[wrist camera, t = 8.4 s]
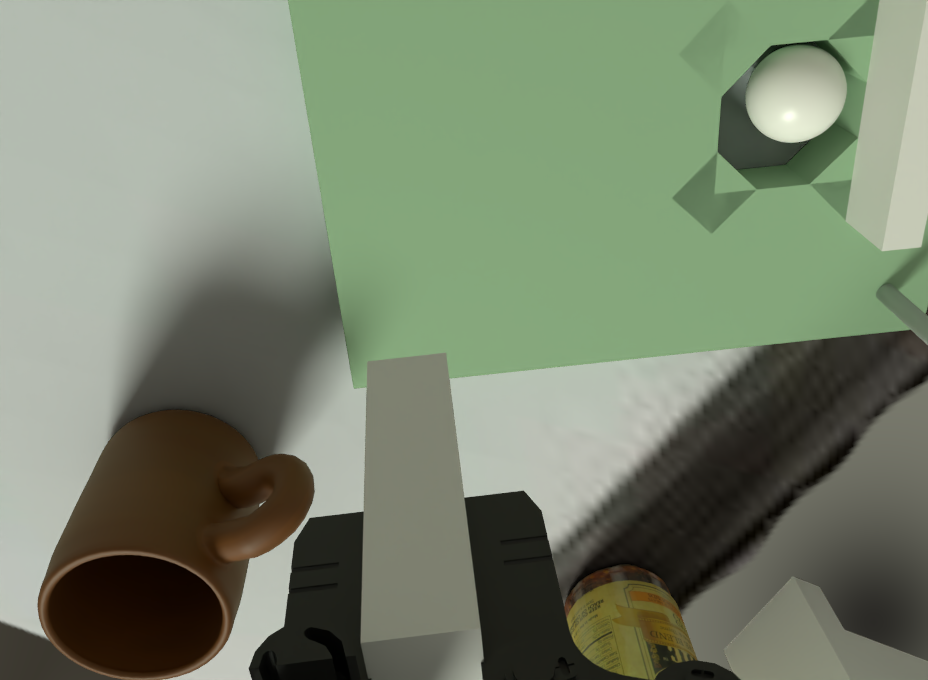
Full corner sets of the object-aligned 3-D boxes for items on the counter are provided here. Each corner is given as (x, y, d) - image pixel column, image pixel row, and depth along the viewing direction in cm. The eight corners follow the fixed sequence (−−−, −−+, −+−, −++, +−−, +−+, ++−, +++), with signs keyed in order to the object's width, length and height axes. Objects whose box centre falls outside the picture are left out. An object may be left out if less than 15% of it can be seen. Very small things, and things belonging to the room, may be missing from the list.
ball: (759, 21, 32) (861, 26, 31) (736, 76, 35) (827, 82, 35) (758, 108, 31) (863, 114, 30) (734, 156, 34) (828, 162, 34)
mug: (269, 325, 38) (236, 456, 30) (370, 438, 42) (366, 583, 33) (67, 453, 41) (-13, 605, 33) (179, 550, 44) (131, 710, 36)
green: (273, -143, 29) (133, -128, 13) (994, -207, 30) (1682, -268, 14) (361, 396, 40) (343, 756, 24) (887, 340, 41) (1204, 655, 25)
